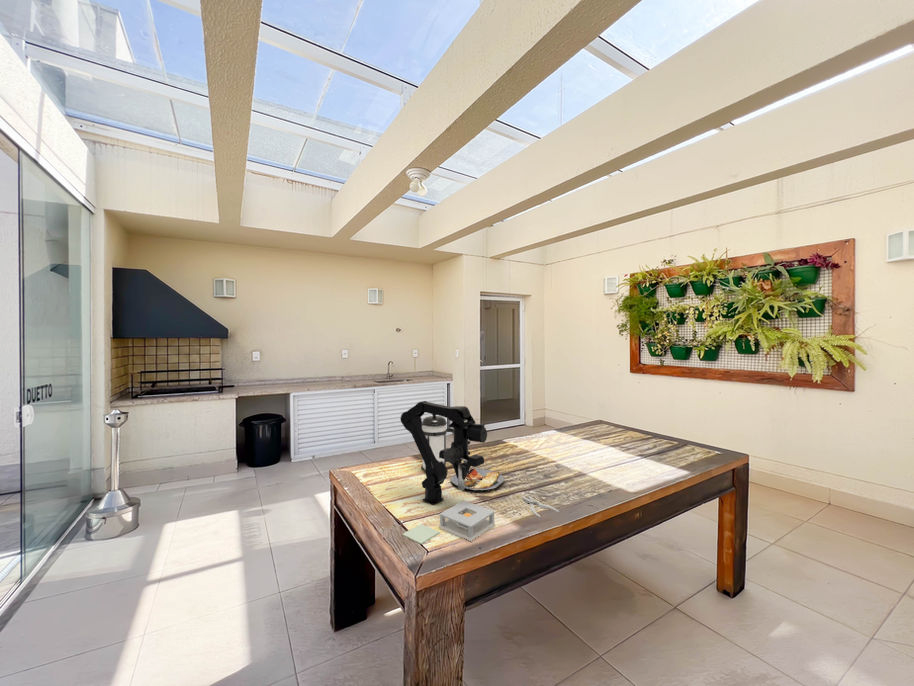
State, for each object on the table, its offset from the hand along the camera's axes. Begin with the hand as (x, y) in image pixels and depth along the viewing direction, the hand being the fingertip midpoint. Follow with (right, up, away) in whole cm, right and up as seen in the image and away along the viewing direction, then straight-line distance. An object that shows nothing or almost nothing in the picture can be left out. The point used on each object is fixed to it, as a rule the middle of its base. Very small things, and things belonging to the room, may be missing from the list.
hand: (461, 478), depth 144 cm
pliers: (+30, -12, +1) cm, 33 cm away
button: (+2, -9, -15) cm, 17 cm away
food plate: (+8, -12, +27) cm, 30 cm away
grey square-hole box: (+2, -12, -15) cm, 19 cm away
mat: (-14, -12, -20) cm, 27 cm away
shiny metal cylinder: (0, -4, 0) cm, 4 cm away
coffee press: (-12, -12, +42) cm, 45 cm away
